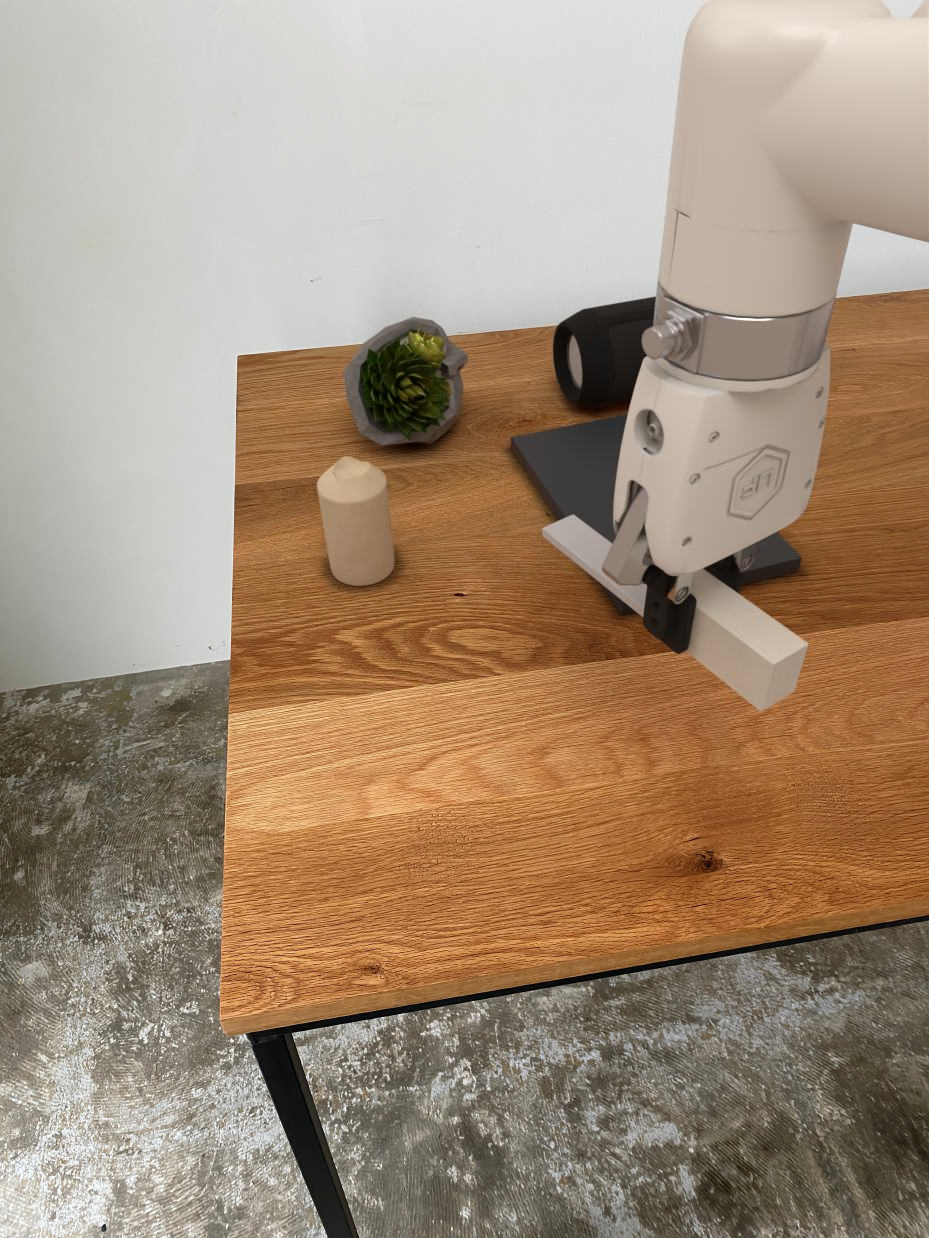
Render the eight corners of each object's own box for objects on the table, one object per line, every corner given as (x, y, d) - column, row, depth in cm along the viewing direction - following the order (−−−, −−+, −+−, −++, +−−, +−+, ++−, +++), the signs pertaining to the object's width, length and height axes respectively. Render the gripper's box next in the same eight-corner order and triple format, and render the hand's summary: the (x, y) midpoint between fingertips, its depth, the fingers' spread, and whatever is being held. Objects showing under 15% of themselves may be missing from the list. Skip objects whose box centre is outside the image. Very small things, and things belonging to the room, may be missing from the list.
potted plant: (477, 362, 99) (518, 391, 86) (399, 454, 101) (426, 496, 88) (392, 282, 94) (422, 300, 81) (311, 381, 96) (327, 414, 83)
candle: (324, 554, 81) (308, 455, 74) (386, 540, 82) (375, 442, 75) (338, 592, 77) (321, 492, 70) (402, 578, 78) (392, 478, 72)
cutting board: (657, 420, 96) (659, 407, 95) (798, 571, 77) (802, 557, 76) (510, 450, 93) (510, 436, 92) (621, 614, 74) (622, 600, 73)
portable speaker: (584, 429, 95) (589, 337, 88) (547, 385, 102) (550, 296, 95) (803, 385, 100) (824, 294, 94) (754, 346, 107) (771, 259, 101)
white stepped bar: (795, 691, 50) (809, 643, 48) (760, 712, 49) (773, 664, 47) (572, 522, 62) (575, 476, 60) (541, 536, 61) (542, 490, 59)
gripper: (658, 412, 36) (620, 728, 48) (928, 304, 42) (834, 608, 55) (541, 342, 41) (534, 646, 53) (800, 254, 47) (740, 544, 59)
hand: (687, 625), depth 54 cm, fingers closed on white stepped bar, 2 cm apart
